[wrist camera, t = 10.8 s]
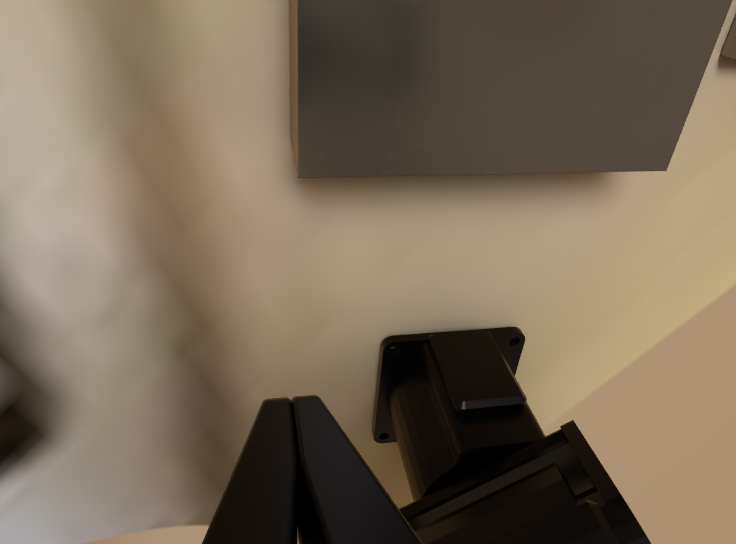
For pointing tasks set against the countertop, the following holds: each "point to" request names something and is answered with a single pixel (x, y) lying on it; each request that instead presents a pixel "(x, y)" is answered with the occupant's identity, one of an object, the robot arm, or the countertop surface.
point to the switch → (494, 84)
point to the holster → (730, 43)
